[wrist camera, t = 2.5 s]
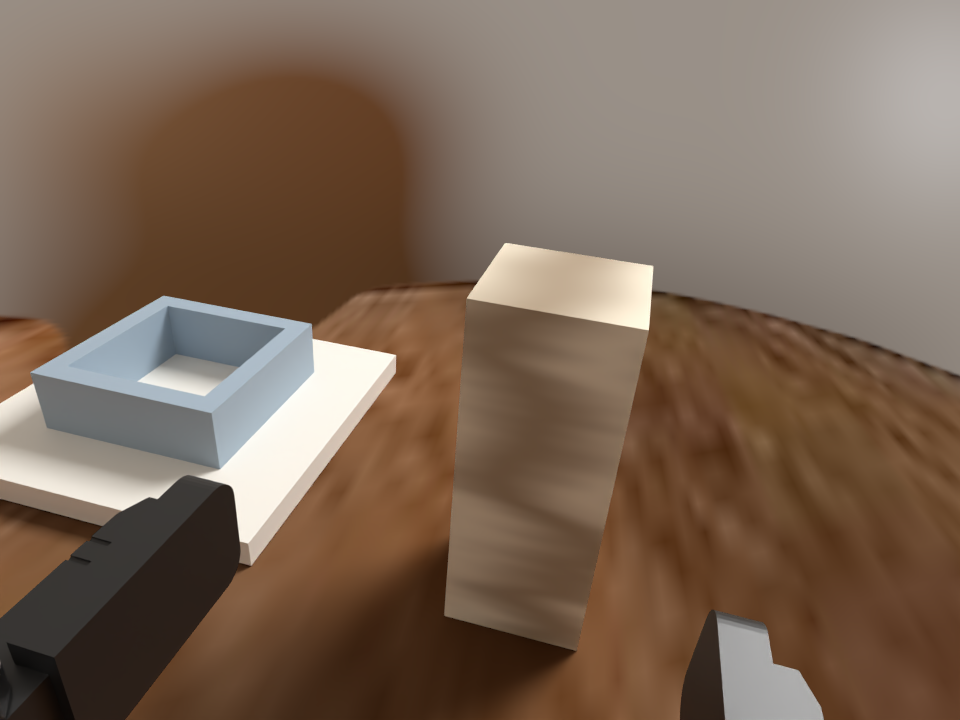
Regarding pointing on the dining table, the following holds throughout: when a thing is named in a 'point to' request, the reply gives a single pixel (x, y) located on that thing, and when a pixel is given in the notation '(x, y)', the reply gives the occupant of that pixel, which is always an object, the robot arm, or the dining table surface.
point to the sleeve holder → (186, 415)
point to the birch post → (541, 435)
